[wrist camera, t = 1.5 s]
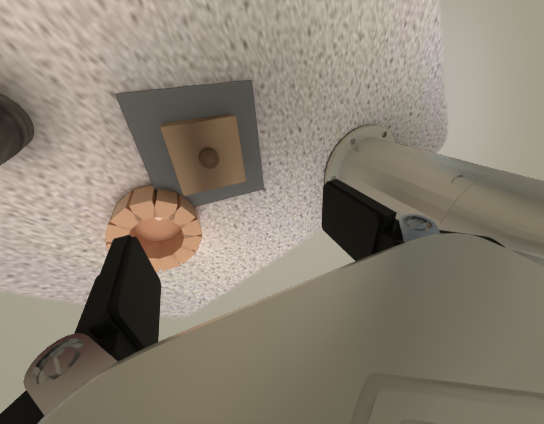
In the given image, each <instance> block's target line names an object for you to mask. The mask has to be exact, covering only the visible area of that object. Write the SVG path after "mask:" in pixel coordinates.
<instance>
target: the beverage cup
mask: <svg viewBox="0 0 544 424" xmlns="http://www.w3.org/2000/svg"><path fill="white" fill-rule="evenodd" d="M33 135H34V129H33V123H32V122H31V120H30V118H29V116H28V115H27V113H26V112H25V111H24V110H23V109H22V108H21V107H20V106H19V105H18V104H16V103H15V102H13V101H12V100H10V99H9V98H7V97H5V96H3V95H1V94H0V165H2V164H3V163H5V162H6V161H7V160H9V159H10V158H12V157H13V156H15V155H16V154H17V153H19V152H20V151H21V150H22V149H23V148H24V147H25V146H27V145H28V144H29V143H30V142H31V141H32V138H33Z"/></svg>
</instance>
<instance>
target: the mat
mask: <svg viewBox="0 0 544 424" xmlns="http://www.w3.org/2000/svg"><path fill="white" fill-rule="evenodd" d="M115 95H116V98H117V100H118V102H119V105H120V107H121V110H122V112H123V114H124V117H125V119H126V122H127V124H128V126H129V129H130V131H131V134H132V136H133V139H134V141H135V143H136V146H137V148H138V151H139V153H140V155H141V158H142V160H143V163H144V165H145V167H146V170H147V172H148V175H149V177H150V180H151V182H152V184H153V187H154V189H155V192H156V193H157V189H158V188H159V189H164V190H168V191H173V192H177V197H178V196H179V195H180V194H181V195H182V196H183V193H182V190H181V187H180V184H179V181H178V178H177V175H176V172H175V169H174V166H173V163H172V161H171V158H170V155H169V152H168V149H167V146H166V143H165V140H164V137H163V134H162V131H161V128H160V127H161V123H168V122H175V121H182V120H189V119H196V118H203V117H210V116H217V115H224V114H232V115H234V116H236V120H237V127H238V133H239V139H240V146H241V152H242V158H243V164H244V171H245V177H246V181H245V182H241V183H237V184H233V185H229V186H225V187H220V188H216V189H212V190H208V191H204V192H199V193H195V194H191V195H187V196H183V197H184V198H186V199H187V200H188V201H189V202H191V203H192V204H193V206H194V207H196V206H200V205H204V204H208V203H212V202H215V201H219V200H223V199H227V198H231V197H235V196H239V195H243V194H247V193H251V192H255V191H259V190H263V189H264V184H263V176H262V167H261V158H260V149H259V140H258V131H257V122H256V113H255V105H254V96H253V87H252V80H246V81H236V82H227V83H217V84H207V85H197V86H188V87H178V88H168V89H158V90H148V91H139V92H129V93H119V94H115Z"/></svg>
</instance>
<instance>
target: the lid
mask: <svg viewBox="0 0 544 424" xmlns="http://www.w3.org/2000/svg"><path fill="white" fill-rule="evenodd" d="M160 128H161V131H162V134H163V137H164V140H165V143H166V146H167V149H168V152H169V155H170V158H171V161H172V163H173V166H174V169H175V172H176V175H177V178H178V181H179V184H180V187H181V190H182V193H183V196H187V195H191V194H195V193H199V192H204V191H208V190H212V189H216V188H220V187H225V186H229V185H233V184H237V183H241V182H245V181H246V177H245V171H244V164H243V158H242V152H241V146H240V139H239V133H238V127H237V120H236V116H234V115H232V114H224V115H217V116H210V117H203V118H196V119H189V120H182V121H175V122H168V123H161V127H160Z"/></svg>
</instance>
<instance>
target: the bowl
mask: <svg viewBox="0 0 544 424" xmlns="http://www.w3.org/2000/svg"><path fill="white" fill-rule="evenodd" d="M126 235H131V236H132V237H135V236H136V237H137V238H138V240H139V242H140V244H141V245H142V247H143V249H144V251H145V253H146V255H147V257H148V258H149V260H150V262H151V264H152V266H153V268H154V270H155V271H156V272H159V268H160V267H161V269H162V271H165V270H168V269H171V268H174V267H177V266H180V262H181V263H185V262H186V261H187V260H188V259H189V258H190V257H192V256H193V255H194V254H195V250H198V247H199V244H200V241H201V239H202V231H201V226H200V222H199V217H198V214H197V211H196V208H195V207H194V206H193V204H192V203H191V202H189V201H188V200H187V199H186V198H184V197H183V196H182V195H181V194H180V195H179V196H178V197H177V192H173V191H168V190H164V189H159V188H158V189H157V193H156V192H155V189H154V187H153V185H150V186H146V187H141V188H136V189H135V190H134V192H133V191H130V192H129V193H128V194H127V195H126V196H125V197H123V198H122V199H121V200H120V201H119V202H118V203H117V205H116V207H115V209H114V212H113V214H112V216H111V218H110V221H109V223H108V226H107V232H106V238H105V242H107V243H106V246H107V248H108V249H110V246H111V244H112V241H113V239H115V238H118V237H122V236H126Z"/></svg>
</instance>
